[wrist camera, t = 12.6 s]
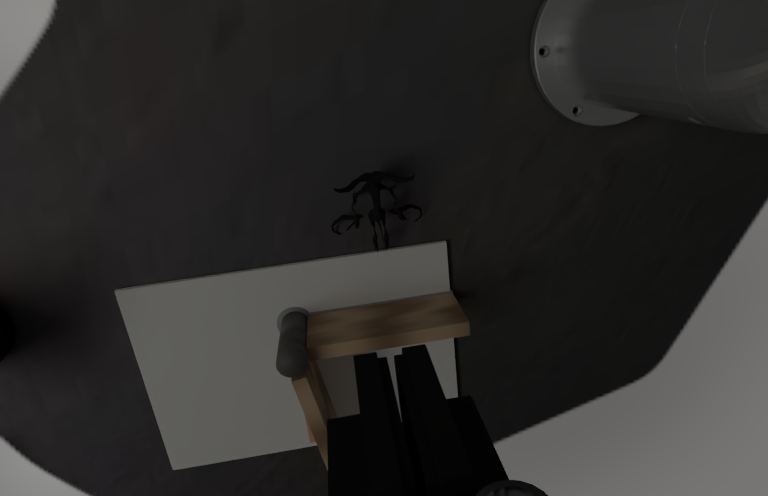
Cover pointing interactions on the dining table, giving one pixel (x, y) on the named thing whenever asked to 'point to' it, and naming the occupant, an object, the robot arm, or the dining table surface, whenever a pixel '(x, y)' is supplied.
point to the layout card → (264, 347)
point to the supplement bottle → (6, 334)
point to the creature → (374, 201)
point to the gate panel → (315, 404)
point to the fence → (366, 330)
